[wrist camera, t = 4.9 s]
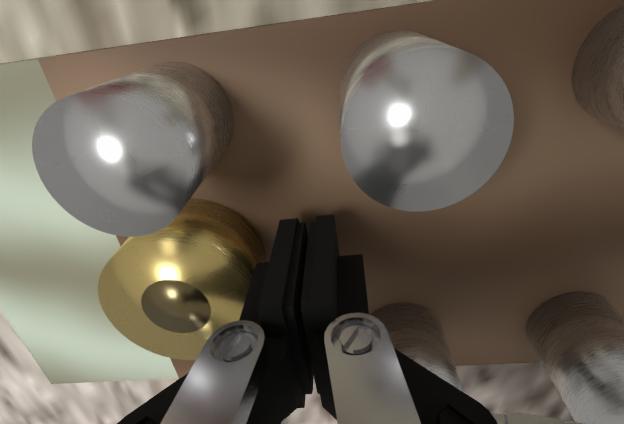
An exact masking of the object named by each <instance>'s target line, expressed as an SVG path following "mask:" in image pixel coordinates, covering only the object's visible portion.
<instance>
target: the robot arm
mask: <svg viewBox="0 0 624 424" xmlns="http://www.w3.org/2000/svg"><path fill="white" fill-rule="evenodd" d="M313 375H314V378H315V383H316V388H317V392H318V394H320V396H321V401H322V406H323V408H324V409H326V410H327V411H328V412H329V413H330V414H331V415H332V416H333V417H334V418H335V419H336V420H337V423H338V424H585V423H579V422H573V421H567V420H561V419H555V418H549V417H543V416H537V415H531V414H526V413H520V412H514V411H508V410H506V414H505V415H500V414H494V413H490V411H489V410H488V409H486V408H485V407H484V406H483V405H482V404H480V403H479V402H478V401H476V400H475V399H473V398H471V397H470V396H468V395H467V394H465V393H464V392H462V391H460V390H459V389H457V388H456V387H454V386H453V385H451V384H450V383H448V382H446V381H445V380H443V379H442V378H440V377H439V376H437V375H435V374H434V373H432V372H431V371H429V370H428V369H426V368H425V367H423V366H421V365H420V364H418V363H417V362H415V361H414V360H412V359H411V358H409V357H407V356H406V355H404V354H403V353H401V352H400V351H398V350H396V349H395V348H393V345H392V342H391V340H390V337H389V334H388V331H387V329H386V327H385V326H384V324H383V323H382V322H381V321H380V320H379V319H377V318H376V317H374V316H371V315H369V309H368V299H367V290H366V281H365V272H364V263H363V254H356V255H344V256H340V254H339V247H338V239H337V231H336V223H335V217H334V215H324V216H316V221H310V225H309V234H307V228H306V223H305V222H299V219H298V218H293V219H283V220H280V221H279V225H278V229H277V233H276V237H275V241H274V245H273V249H272V253H271V257H270V261H269V262H261V263H257V264H256V266H255V269H254V273H253V276H252V279H251V283H250V286H249V289H248V293H247V296H246V299H245V303H244V306H243V309H242V313H241V316H240V319H239V321H234V322H231V323H227V324H225V325H224V326H222V327H220V328H218V329H217V330H216V331H215V332H213V333H212V334H211V336H210V337H209V338H208V340H207V341H206V343H205V345H204V346H203V348H202V350H201V352H200V354H199V355H198V357H197V359H196V361H195V362H194V364H193V366H192V368H191V370H190V371H189V373H187V374H186V375H184V376H183V377H181V378H180V379H179V380H177V381H176V382H174V383H173V384H171V385H170V386H169V387H167V388H166V389H164V390H163V391H161V392H160V393H158V394H157V395H156V396H154V397H153V398H151V399H150V400H148V401H147V402H146V403H144V404H143V405H141V406H140V407H138V408H137V409H136V410H134V411H133V412H131V413H130V414H128V415H127V416H126V417H124V418H123V419H122V420H121V421H120V422H119V423H117V424H288V420H287V417H288V416H289V415H290V414H291V413H292V412H293V411H294V410H295V409H297V408H304V406H305V394H312V391H313Z"/></svg>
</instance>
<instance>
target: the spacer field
mask: <svg viewBox="0 0 624 424" xmlns="http://www.w3.org/2000/svg"><path fill="white" fill-rule="evenodd" d="M571 82H572V90H573V94H574V97H575V99H576V101H577V103H578V104H579V106H580V107H581V108H582V109H583V110H584V111H585V112H587V113H588V114H590V115H591V116H593V117H595V118H598V119H600V120H602V121H604V122H607V123H609V124H611V125H613V126H615V127H618V128H620V129H622V130H624V4H623V5H621V6H620V7H618V8H616V9H615V10H613V11H612V12H611V13H609V14H608V15H607V16H606V17H604V18H603V19H602V20H601V21H600V22H599V23H598V24H597V25H596V26H595V27H594V28H593V29H592V31H591V32H590V33H589V34H588V36H587V37H586V39H585V40H584V42H583V43H582V45H581V47H580V49H579V51H578V53H577V56H576V58H575V61H574V65H573V69H572V77H571ZM339 107H340V130H341V148H342V154H343V159H344V162H345V165H346V168H347V170H348V172H349V174H350V176H351V177H352V179H353V180H354V182H355V183H356V184H357V185H358V187H359V188H360V189H361V190H362V191H363V192H364V193H366V194H367V195H368V196H369V197H371V198H372V199H374V200H375V201H377V202H379V203H381V204H383V205H385V206H388V207H391V208H394V209H398V210H403V211H413V212H418V211H430V210H436V209H440V208H444V207H447V206H450V205H452V204H455V203H457V202H459V201H461V200H463V199H465V198H466V197H468V196H470V195H471V194H473V193H474V192H475V191H477V190H478V189H479V188H480V187H482V186H483V185H484V184H485V183H486V182H487V181H488V180H489V179H490V178H491V176H492V175H493V174H494V173H495V171H496V170H497V169H498V167H499V166H500V164H501V162H502V161H503V159H504V157H505V155H506V153H507V151H508V148H509V145H510V142H511V138H512V133H513V127H514V112H513V105H512V101H511V97H510V94H509V91H508V89H507V87H506V85H505V83H504V82H503V80H502V78H501V77H500V75H499V74H498V73H497V72H496V71H495V70H494V69H493V68H492V67H491V66H490V65H489V64H488V63H486V62H485V61H484V60H482V59H480V58H479V57H477V56H475V55H473V54H471V53H468V52H466V51H463V50H461V49H458V48H456V47H453V46H451V45H448V44H446V43H443V42H441V41H438V40H436V39H433V38H430V37H428V36H425V35H423V34H420V33H418V32H414V31H410V30H391V31H387V32H383V33H380V34H378V35H376V36H374V37H372V38H370V39H368V40H367V41H366V42H364V43H363V44H362V45H361V46H359V47H358V48H357V49H356V50H355V52H354V53H353V54H352V55H351V57H350V58H349V60H348V61H347V63H346V65H345V67H344V69H343V72H342V75H341V79H340V84H339ZM233 132H234V115H233V110H232V106H231V103H230V101H229V98H228V96H227V95H226V93H225V91H224V90H223V88H222V87H221V86H220V84H219V83H218V82H217V81H216V80H215V79H214V78H213V77H212V76H210V75H209V74H208V73H206V72H205V71H203V70H202V69H200V68H198V67H196V66H194V65H191V64H188V63H184V62H177V61H169V62H162V63H158V64H155V65H153V66H150V67H147V68H144V69H142V70H139V71H136V72H133V73H130V74H128V75H125V76H122V77H119V78H117V79H114V80H111V81H108V82H106V83H103V84H100V85H97V86H95V87H92V88H89V89H86V90H83V91H81V92H78V93H75V94H72V95H70V96H67V97H64V98H62V99H59V100H58V101H56V102H55V103H53V104H51V105H50V106H49V107H48V108H47V109H46V110H45V111H44V112H43V114H42V115H41V116H40V118H39V120H38V121H37V123H36V126H35V129H34V132H33V138H32V153H33V159H34V163H35V166H36V170H37V172H38V174H39V177H40V179H41V181H42V182H43V184H44V186H45V188H46V189H47V191H48V192H49V193H50V195H51V196H52V197H53V198H54V199H55V201H56V202H57V203H58V204H59V205H60V206H61V207H62V208H63V209H64V210H65V211H67V212H68V213H69V214H70V215H72V216H73V217H74V218H76V219H77V220H79V221H81V222H82V223H84V224H86V225H88V226H90V227H92V228H94V229H96V230H99V231H101V232H105V233H108V234H112V235H117V236H126V237H137V236H144V235H149V234H152V233H155V232H157V231H160V230H162V229H163V228H165V227H166V226H168V225H169V224H170V223H171V222H172V221H174V220H175V218H176V217H177V216H178V215H179V213H180V212H181V211H182V209H183V208H184V206H185V205H186V204H187V202H188V201H189V200H190V198H191V197H192V195H193V194H194V193H195V191H196V190H197V188H198V187H199V186H200V184H201V183H202V182H203V180H204V179H205V177H206V176H207V175H208V173H209V172H210V171H211V169H212V168H213V166H214V165H215V164H216V162H217V161H218V160H219V158H220V157H221V155H222V154H223V153H224V151H225V150H226V149H227V147H228V145H229V144H230V141H231V139H232V136H233ZM371 316H374V317H376V318H377V319H379V320H380V321H381V322H382V323H383V324H384V326H385V327H386V329H387V331H388V334H389V337H390V340H391V342H392V345H393V348H395V349H396V350H398V351H400V352H401V353H403V354H404V355H406V356H407V357H409V358H411V359H412V360H414V361H415V362H417V363H418V364H420V365H421V366H423V367H425V368H426V369H428V370H429V371H431V372H432V373H434V374H435V375H437V376H439V377H440V378H442V379H443V380H445V381H446V382H448V383H450V384H451V385H453V386H454V387H456V388H457V389H459V390H460V391H462V392H463V389H462V386H461V383H460V380H459V377H458V374H457V371H456V368H455V365H454V362H453V359H452V356H451V353H450V350H449V347H448V343H447V340H446V337H445V334H444V331H443V328H442V325H441V322H440V320H439V318H438V317H437V315H436V314H435V313H434V312H432V311H431V310H430V309H428V308H426V307H424V306H422V305H419V304H414V303H406V302H405V303H393V304H389V305H386V306H383V307H381V308H379V309H377V310H376V311H374V312H373V313H372V314H371ZM525 332H526V336H527V338H528V340H529V342H530V343H531V345H532V347H533V349H534V350H535V352H536V354H537V356H538V358H539V359H540V361H541V363H542V365H543V366H544V368H545V370H546V372H547V373H548V375H549V377H550V379H551V380H552V382H553V384H554V386H555V387H556V389H557V391H558V393H559V394H560V396H561V398H562V400H563V401H564V403H565V405H566V407H567V408H568V410H569V412H570V414H571V415H572V417H573V419H574V421H575V422H579V423H585V424H624V317H623V316H622V315H621V314H620V313H619V311H618V310H617V309H616V308H615V307H614V306H613V305H612V304H611V303H610V302H609V301H608V300H607V299H606V298H605V297H603V296H601V295H599V294H596V293H592V292H585V291H576V292H569V293H564V294H561V295H558V296H555V297H553V298H551V299H549V300H547V301H545V302H543V303H542V304H541V305H539V306H538V307H537V308H536V309H535V310H534V311H533V312H532V313H531V315H530V316H529V318H528V320H527V322H526V326H525Z"/></svg>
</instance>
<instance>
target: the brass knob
mask: <svg viewBox="0 0 624 424" xmlns="http://www.w3.org/2000/svg"><path fill="white" fill-rule="evenodd" d="M261 262H266V253H265V248H264V245H263V243H262V241H261V239H260V237H259V235H258V233H257V232H256V231H255V229H254V228H253V227H252V226H251V225H250V223H249V222H248V221H247V220H245V219H244V218H243V217H242V216H241V215H239V214H238V213H236V212H235V211H233V210H231V209H229V208H228V207H226V206H223V205H221V204H218V203H215V202H211V201H208V200H202V199H190V200H189V201H188V202H187V204H186V205H185V206H184V208H183V209H182V211H181V212H180V213H179V215H178V216H177V217H176V218H175V220H174V221H172V222H171V223H170V224H169V225H168V226H166V227H165V228H163V229H162V230H160V231H157V232H155V233H152V234H149V235H144V236H137V237H129V238H128V239H127V240H126V241H125V242H124V243H123V245H122V246H121V247H120V248H119V249H118V250H117V252H116V253H115V254H114V255H113V256H112V258H111V259H110V260H109V261H108V262H107V264H106V265H105V267H104V268H103V270H102V272H101V274H100V277H99V282H98V296H99V301H100V304H101V307H102V309H103V311H104V313H105V315H106V316H107V318H108V320H109V321H110V322H111V323H112V325H113V326H114V327H115V328H116V329H117V330H118V331H119V332H120V333H121V334H122V335H123V336H125V337H126V338H127V339H128V340H130V341H131V342H133V343H135V344H136V345H138V346H140V347H142V348H143V349H145V350H148V351H150V352H152V353H155V354H158V355H161V356H165V357H169V358H173V359H180V360H196V359H197V357H198V355H199V354H200V352H201V350H202V348H203V346H204V345H205V343H206V341H207V340H208V338H209V337H210V336H211V334H212V333H213V332H215V331H216V330H217V329H218V328H220V327H222V326H224V325H225V324H227V323H231V322H234V321H239V319H240V316H241V313H242V309H243V306H244V303H245V299H246V296H247V293H248V289H249V286H250V283H251V279H252V276H253V273H254V269H255V266H256V264H257V263H261Z"/></svg>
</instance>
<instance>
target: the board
mask: <svg viewBox="0 0 624 424" xmlns="http://www.w3.org/2000/svg"><path fill="white" fill-rule="evenodd" d="M623 4H624V0H435V1H428V2H421V3H414V4H407V5H400V6H393V7H386V8H380V9H373V10H366V11H359V12H352V13H345V14H338V15H331V16H324V17H318V18H311V19H304V20H297V21H290V22H283V23H276V24H269V25H263V26H256V27H249V28H242V29H235V30H228V31H221V32H214V33H207V34H201V35H194V36H187V37H180V38H173V39H166V40H159V41H152V42H146V43H139V44H132V45H125V46H118V47H111V48H104V49H97V50H90V51H84V52H77V53H70V54H63V55H56V56H49V57H42V58H35V59H29V60H22V61H15V62H8V63H1V64H0V310H1V311H2V312H3V314H4V315H5V317H6V318H7V320H8V321H9V323H10V324H11V326H12V327H13V329H14V330H15V331H16V333H17V334H18V336H19V337H20V339H21V340H22V342H23V343H24V345H25V346H26V347H27V349H28V350H29V352H30V353H31V355H32V356H33V358H34V359H35V361H36V362H37V363H38V365H39V366H40V368H41V369H42V371H43V372H44V374H45V375H46V377H47V378H48V380H49V381H50V382H51V384H60V383H82V382H104V381H127V380H149V379H171V378H181V377H183V376H184V375H186V374H187V373H189V371H190V370H191V368H192V366H193V364H194V362H195V361H196V360H180V359H173V358H169V357H165V356H161V355H158V354H155V353H152V352H150V351H148V350H145V349H143V348H142V347H140V346H138V345H136V344H135V343H133V342H131V341H130V340H128V339H127V338H126V337H125V336H123V335H122V334H121V333H120V332H119V331H118V330H117V329H116V328H115V327H114V326H113V325H112V323H111V322H110V321H109V320H108V318H107V316H106V315H105V313H104V311H103V309H102V307H101V304H100V301H99V296H98V282H99V277H100V274H101V272H102V270H103V268H104V267H105V265H106V264H107V262H108V261H109V260H110V259H111V258H112V256H113V255H114V254H115V253H116V252H117V250H118V249H119V248H120V247H121V246H122V245H123V243H124V242H125V241H126V240H127V239H128V238H129V237H126V236H117V235H112V234H108V233H105V232H101V231H99V230H96V229H94V228H92V227H90V226H88V225H86V224H84V223H82V222H81V221H79V220H77V219H76V218H74V217H73V216H72V215H70V214H69V213H68V212H67V211H65V210H64V209H63V208H62V207H61V206H60V205H59V204H58V203H57V202H56V201H55V199H54V198H53V197H52V196H51V195H50V193H49V192H48V191H47V189H46V188H45V186H44V184H43V182H42V181H41V179H40V177H39V174H38V172H37V170H36V166H35V163H34V159H33V153H32V138H33V132H34V129H35V126H36V123H37V121H38V120H39V118H40V116H41V115H42V114H43V112H44V111H45V110H46V109H47V108H48V107H49V106H50V105H51V104H53V103H55V102H56V101H58V100H59V99H62V98H64V97H67V96H70V95H72V94H75V93H78V92H81V91H83V90H86V89H89V88H92V87H95V86H97V85H100V84H103V83H106V82H108V81H111V80H114V79H117V78H119V77H122V76H125V75H128V74H130V73H133V72H136V71H139V70H142V69H144V68H147V67H150V66H153V65H155V64H158V63H162V62H169V61H177V62H184V63H188V64H191V65H194V66H196V67H198V68H200V69H202V70H203V71H205V72H206V73H208V74H209V75H210V76H212V77H213V78H214V79H215V80H216V81H217V82H218V83H219V84H220V86H221V87H222V88H223V90H224V91H225V93H226V95H227V96H228V98H229V101H230V103H231V106H232V110H233V115H234V132H233V136H232V139H231V141H230V144H229V145H228V147H227V149H226V150H225V151H224V153H223V154H222V155H221V157H220V158H219V160H218V161H217V162H216V164H215V165H214V166H213V168H212V169H211V171H210V172H209V173H208V175H207V176H206V177H205V179H204V180H203V182H202V183H201V184H200V186H199V187H198V188H197V190H196V191H195V193H194V194H193V195H192V197H191V198H190V199H202V200H208V201H211V202H215V203H218V204H221V205H223V206H226V207H228V208H229V209H231V210H233V211H235V212H236V213H238V214H239V215H241V216H242V217H243V218H244V219H245V220H247V221H248V222H249V223H250V225H251V226H252V227H253V228H254V229H255V231H256V232H257V233H258V235H259V237H260V239H261V241H262V243H263V245H264V248H265V253H266V262H269V261H270V257H271V253H272V249H273V245H274V241H275V237H276V233H277V229H278V225H279V221H280V220H283V219H293V218H298V219H299V222H305V223H306V228H307V234H309V225H310V221H316V216H324V215H334V217H335V223H336V231H337V239H338V247H339V254H340V256H344V255H356V254H363V263H364V272H365V281H366V290H367V299H368V309H369V315H371V314H372V313H373V312H374V311H376V310H377V309H379V308H381V307H383V306H386V305H389V304H393V303H405V302H406V303H414V304H419V305H422V306H424V307H426V308H428V309H430V310H431V311H432V312H434V313H435V314H436V315H437V317H438V318H439V320H440V322H441V325H442V328H443V331H444V334H445V337H446V340H447V343H448V347H449V350H450V353H451V356H452V359H453V362H454V365H455V366H461V365H483V364H505V363H528V362H541V361H540V359H539V358H538V356H537V354H536V352H535V350H534V349H533V347H532V345H531V343H530V342H529V340H528V338H527V336H526V332H525V326H526V322H527V320H528V318H529V316H530V315H531V313H532V312H533V311H534V310H535V309H536V308H537V307H538V306H539V305H541V304H542V303H543V302H545V301H547V300H549V299H551V298H553V297H555V296H558V295H561V294H564V293H569V292H576V291H585V292H592V293H596V294H599V295H601V296H603V297H605V298H606V299H607V300H608V301H609V302H610V303H611V304H612V305H613V306H614V307H615V308H616V309H617V310H618V311H619V313H620V314H621V315H622V316H623V317H624V130H622V129H620V128H618V127H615V126H613V125H611V124H609V123H607V122H604V121H602V120H600V119H598V118H595V117H593V116H591V115H590V114H588V113H587V112H585V111H584V110H583V109H582V108H581V107H580V106H579V104H578V103H577V101H576V99H575V97H574V94H573V90H572V82H571V77H572V69H573V65H574V61H575V58H576V56H577V53H578V51H579V49H580V47H581V45H582V43H583V42H584V40H585V39H586V37H587V36H588V34H589V33H590V32H591V31H592V29H593V28H594V27H595V26H596V25H597V24H598V23H599V22H600V21H601V20H602V19H603V18H604V17H606V16H607V15H608V14H609V13H611V12H612V11H613V10H615V9H616V8H618V7H620V6H621V5H623ZM391 30H410V31H414V32H418V33H420V34H423V35H425V36H428V37H430V38H433V39H436V40H438V41H441V42H443V43H446V44H448V45H451V46H453V47H456V48H458V49H461V50H463V51H466V52H468V53H471V54H473V55H475V56H477V57H479V58H480V59H482V60H484V61H485V62H486V63H488V64H489V65H490V66H491V67H492V68H493V69H494V70H495V71H496V72H497V73H498V74H499V75H500V77H501V78H502V80H503V82H504V83H505V85H506V87H507V89H508V91H509V94H510V97H511V101H512V105H513V112H514V127H513V133H512V138H511V142H510V145H509V148H508V151H507V153H506V155H505V157H504V159H503V161H502V162H501V164H500V166H499V167H498V169H497V170H496V171H495V173H494V174H493V175H492V176H491V178H490V179H489V180H488V181H487V182H486V183H485V184H484V185H483V186H482V187H480V188H479V189H478V190H477V191H475V192H474V193H473V194H471V195H470V196H468V197H466V198H465V199H463V200H461V201H459V202H457V203H455V204H452V205H450V206H447V207H444V208H440V209H436V210H430V211H418V212H413V211H403V210H398V209H394V208H391V207H388V206H385V205H383V204H381V203H379V202H377V201H375V200H374V199H372V198H371V197H369V196H368V195H367V194H366V193H364V192H363V191H362V190H361V189H360V188H359V187H358V185H357V184H356V183H355V182H354V180H353V179H352V177H351V176H350V174H349V172H348V170H347V168H346V165H345V162H344V159H343V154H342V148H341V130H340V107H339V84H340V79H341V75H342V72H343V69H344V67H345V65H346V63H347V61H348V60H349V58H350V57H351V55H352V54H353V53H354V52H355V50H356V49H357V48H358V47H359V46H361V45H362V44H363V43H364V42H366V41H367V40H368V39H370V38H372V37H374V36H376V35H378V34H380V33H383V32H387V31H391Z"/></svg>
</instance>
